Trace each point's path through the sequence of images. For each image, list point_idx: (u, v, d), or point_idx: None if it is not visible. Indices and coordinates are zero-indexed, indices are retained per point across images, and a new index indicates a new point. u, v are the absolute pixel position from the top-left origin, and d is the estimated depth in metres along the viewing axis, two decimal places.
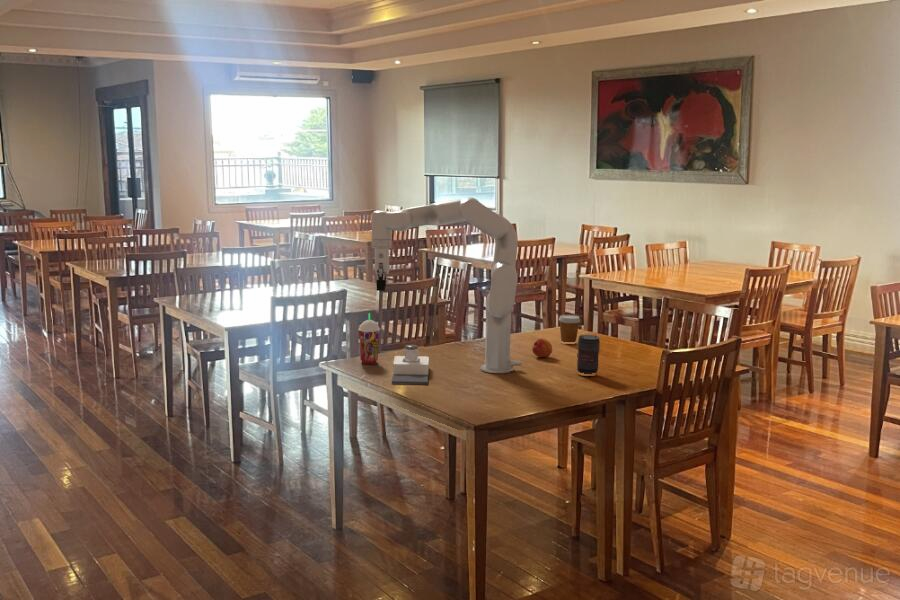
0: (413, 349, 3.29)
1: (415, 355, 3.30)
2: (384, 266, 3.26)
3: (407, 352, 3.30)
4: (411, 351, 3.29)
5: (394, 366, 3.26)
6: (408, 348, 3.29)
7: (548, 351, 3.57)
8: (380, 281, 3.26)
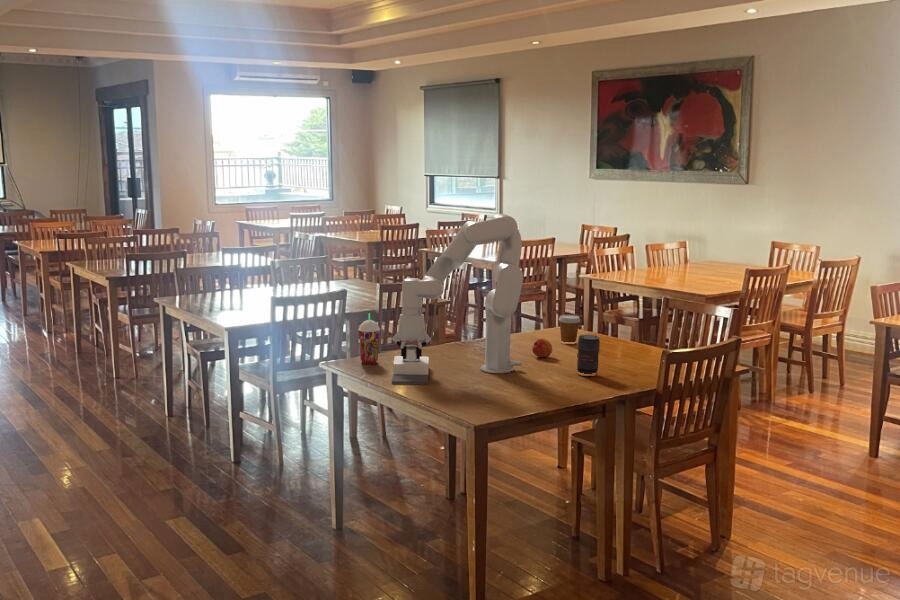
0: (413, 349, 3.29)
1: (415, 355, 3.30)
2: None
3: (407, 352, 3.30)
4: (411, 351, 3.29)
5: (394, 366, 3.26)
6: (408, 348, 3.29)
7: (548, 351, 3.57)
8: (421, 349, 3.32)
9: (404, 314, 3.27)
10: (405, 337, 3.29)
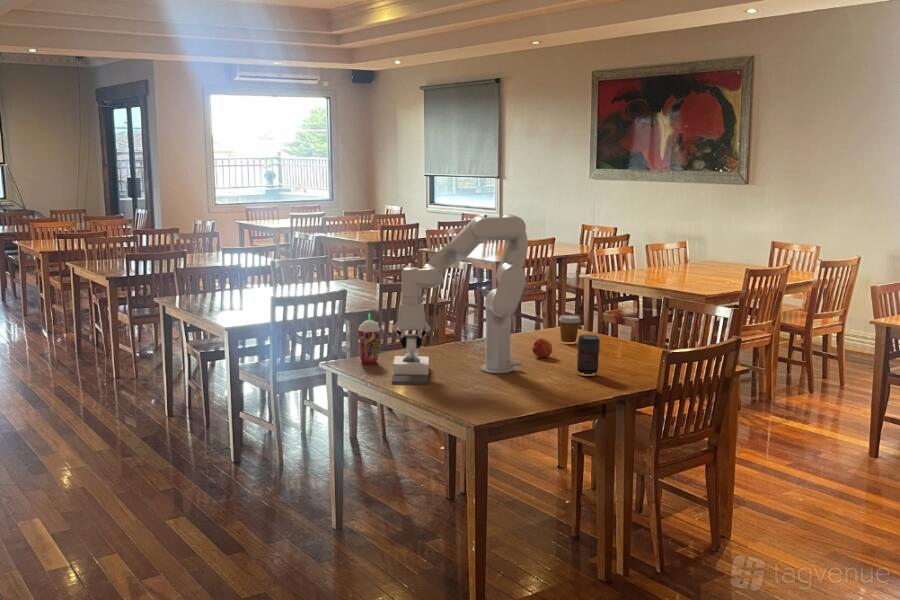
0: (413, 338, 3.29)
1: (415, 344, 3.30)
2: None
3: (407, 341, 3.29)
4: (411, 341, 3.29)
5: (394, 366, 3.26)
6: (408, 337, 3.29)
7: (548, 351, 3.57)
8: (421, 338, 3.31)
9: (404, 303, 3.26)
10: (405, 326, 3.28)
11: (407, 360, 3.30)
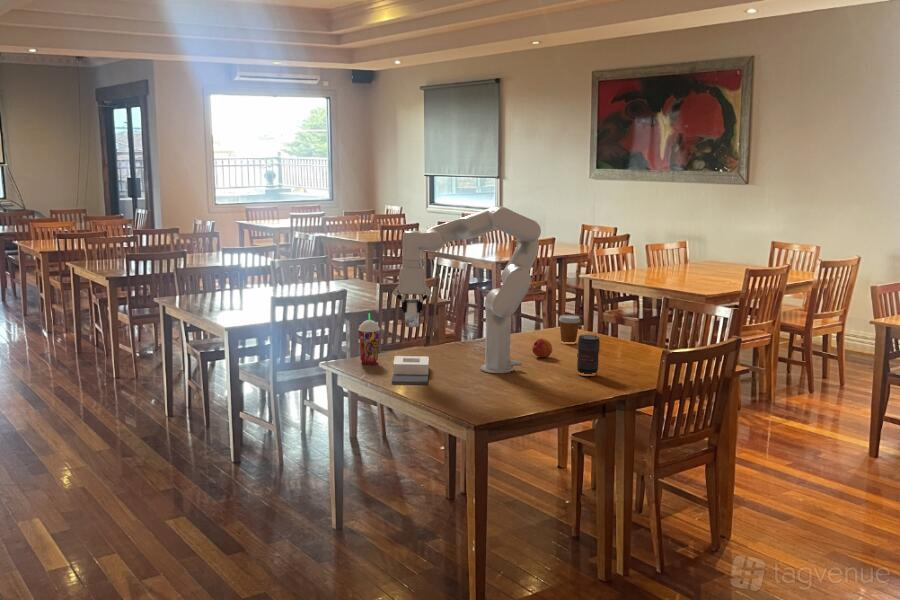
0: (414, 302, 3.26)
1: (416, 308, 3.27)
2: None
3: (408, 305, 3.27)
4: (411, 305, 3.26)
5: (394, 366, 3.26)
6: (409, 301, 3.26)
7: (548, 351, 3.57)
8: None
9: (405, 267, 3.24)
10: (406, 290, 3.26)
11: (407, 324, 3.28)
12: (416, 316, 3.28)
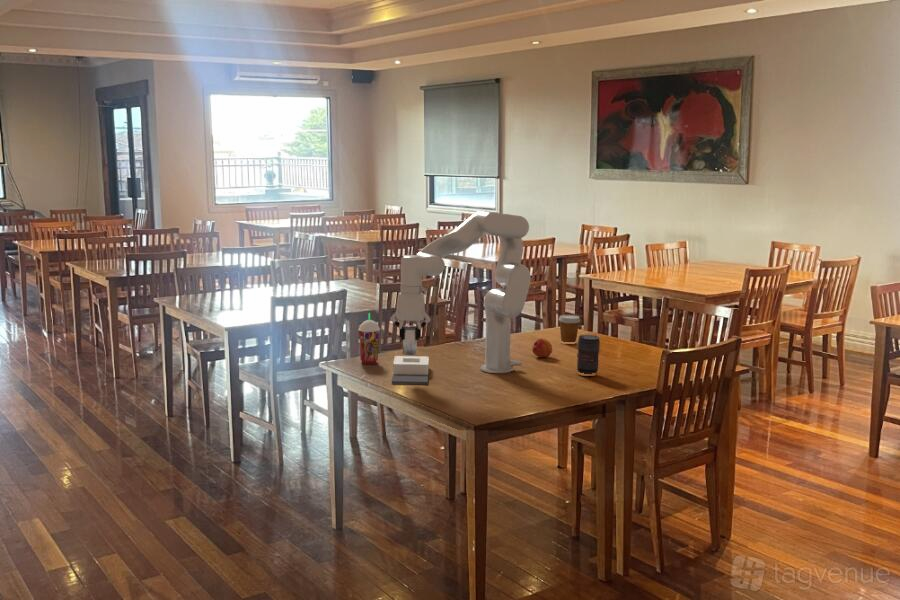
0: (412, 330, 3.15)
1: (414, 336, 3.16)
2: (424, 311, 3.17)
3: (406, 333, 3.15)
4: (410, 332, 3.15)
5: (394, 366, 3.26)
6: (407, 328, 3.15)
7: (548, 351, 3.57)
8: (420, 329, 3.17)
9: (403, 293, 3.12)
10: (404, 316, 3.14)
11: (405, 352, 3.16)
12: (414, 344, 3.16)
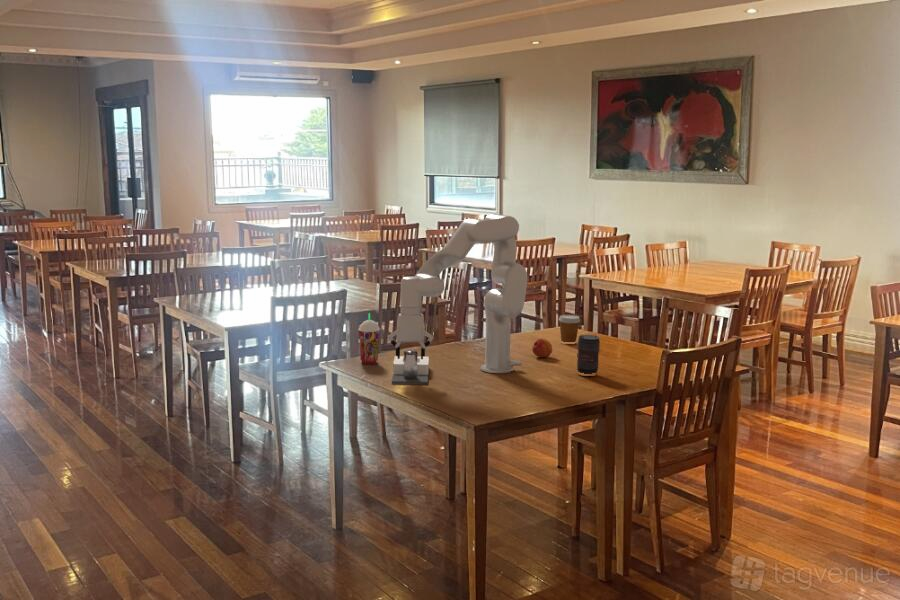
0: (412, 354, 3.17)
1: (414, 360, 3.17)
2: None
3: (406, 357, 3.17)
4: (410, 357, 3.16)
5: (394, 366, 3.26)
6: (407, 353, 3.16)
7: (548, 351, 3.57)
8: (424, 348, 3.18)
9: (403, 314, 3.13)
10: (404, 338, 3.15)
11: (406, 377, 3.18)
12: (415, 368, 3.18)
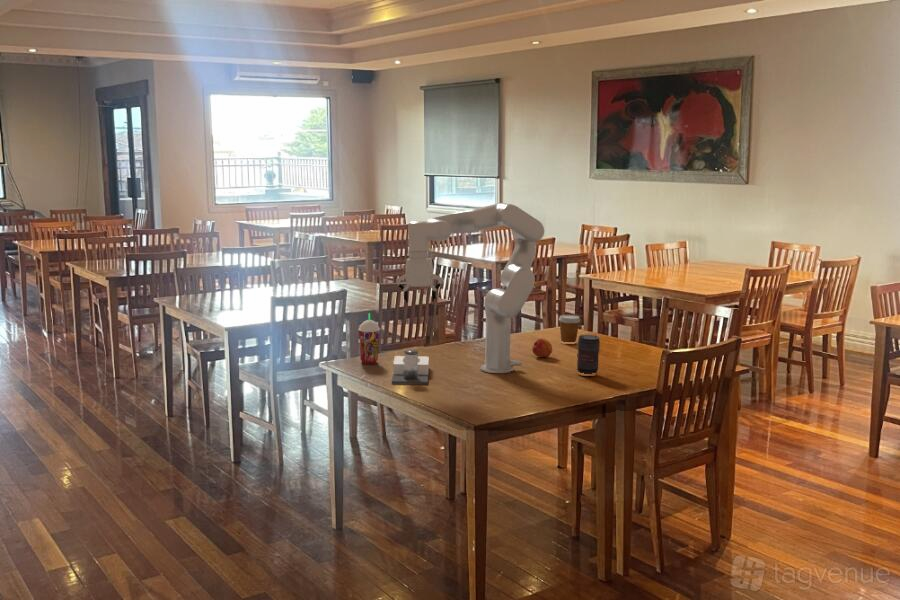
0: (413, 354, 3.16)
1: (415, 361, 3.17)
2: None
3: (407, 357, 3.17)
4: (410, 357, 3.16)
5: (394, 366, 3.26)
6: (408, 353, 3.16)
7: (548, 351, 3.57)
8: (435, 291, 3.21)
9: (412, 258, 3.16)
10: (413, 282, 3.18)
11: (406, 377, 3.18)
12: (415, 368, 3.18)
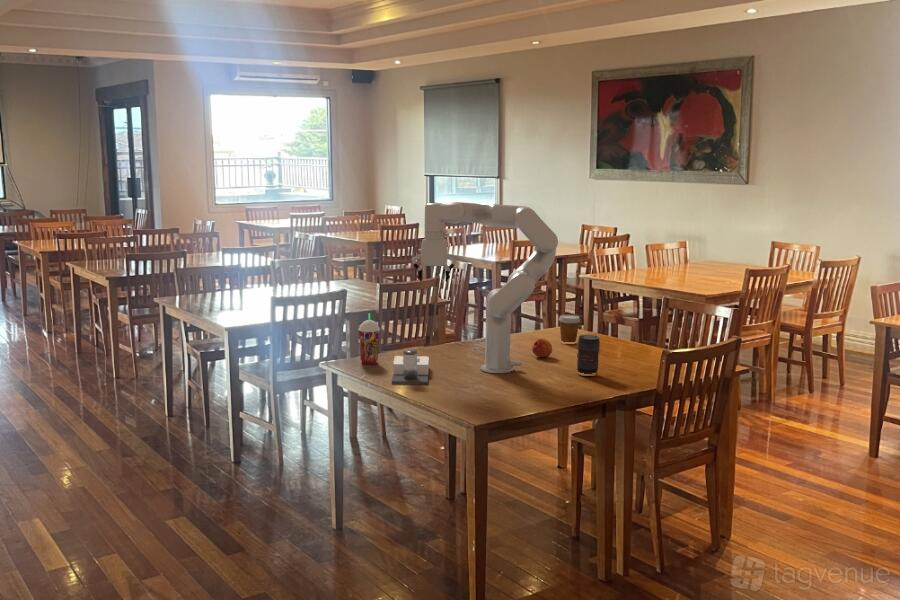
0: (411, 354, 3.16)
1: (414, 360, 3.17)
2: None
3: (405, 357, 3.17)
4: (409, 357, 3.16)
5: (394, 366, 3.26)
6: (406, 353, 3.16)
7: (548, 351, 3.57)
8: None
9: (427, 239, 3.27)
10: (428, 261, 3.29)
11: (406, 377, 3.18)
12: (414, 368, 3.18)
